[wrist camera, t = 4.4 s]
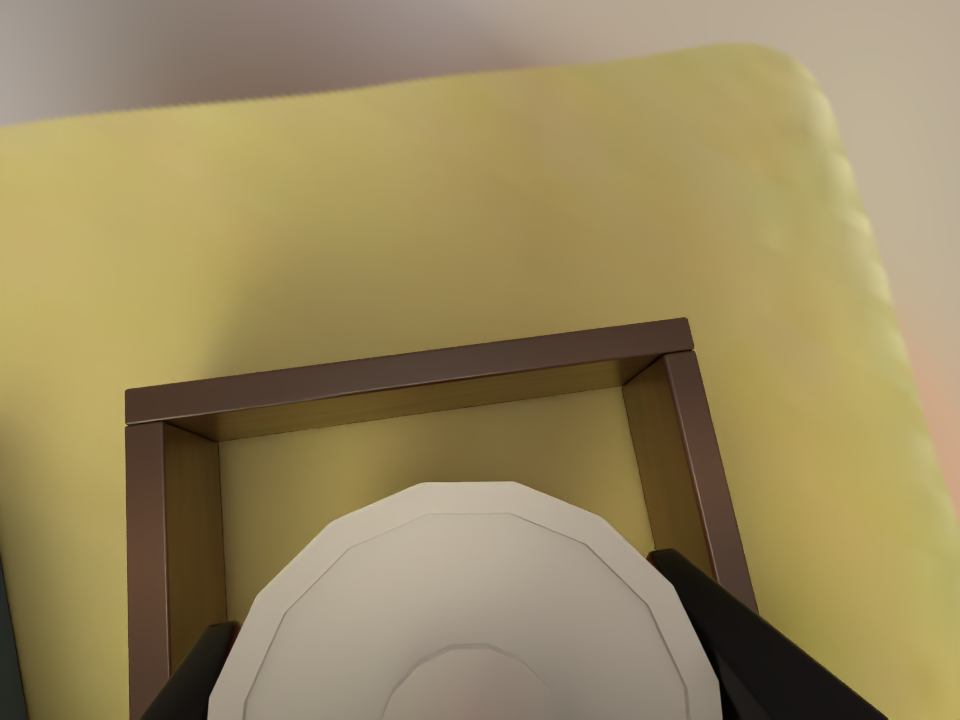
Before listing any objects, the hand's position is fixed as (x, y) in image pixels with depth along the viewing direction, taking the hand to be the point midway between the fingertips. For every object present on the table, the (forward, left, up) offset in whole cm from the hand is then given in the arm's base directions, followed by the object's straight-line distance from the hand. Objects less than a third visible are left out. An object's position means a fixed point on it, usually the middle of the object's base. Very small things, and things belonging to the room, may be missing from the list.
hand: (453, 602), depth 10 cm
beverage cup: (-1, 0, -7) cm, 7 cm away
